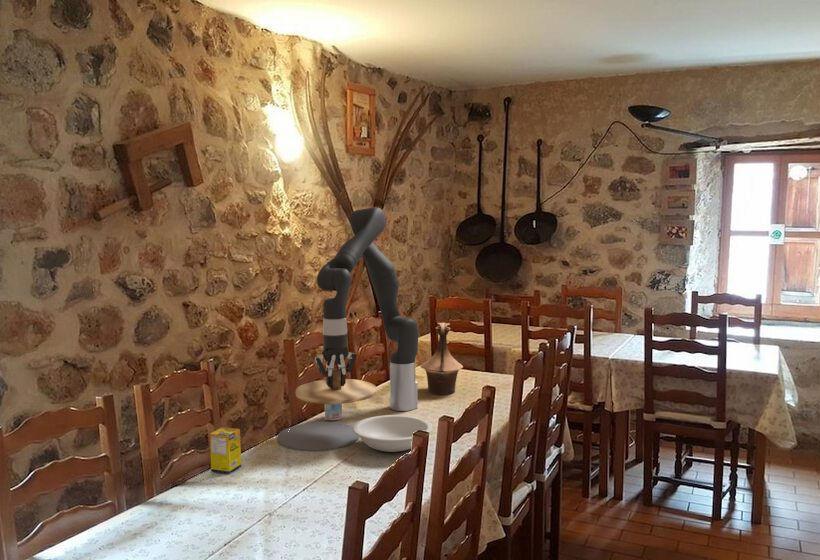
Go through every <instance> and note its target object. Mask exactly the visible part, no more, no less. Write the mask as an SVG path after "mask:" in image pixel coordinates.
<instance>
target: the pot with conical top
mask: <svg viewBox="0 0 820 560" xmlns="http://www.w3.org/2000/svg"><path fill="white" fill-rule="evenodd" d="M437 325H438V326H436V327H435V330H436V333H437V334H438V336H439V337H438V345H437V349H436V351H435V353H434V354H433V355H432V356H431V357H430V358H429V359H428V360H426V361H425V362H423V363H421V365H420V368H422V369H423V370H424V371H425V373H426V380H427V392H428V393H430V394H433V395H434V394H435V395H451V394H454V393H455V392H456V383H457V378H458V374H459V371H460V370H461V369H463V368H464V366H463V365H462V364H461V363H460V362H458V360H457V359H455V358H454V357H453V356H452V354H451V352H450V351H449V347H448V341H447V340H448V339H447V336H448V334H449V332H450V330H451V327H449V326H450V325H451V323H450V322H437Z"/></svg>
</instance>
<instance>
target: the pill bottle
mask: <svg viewBox="0 0 820 560" xmlns="http://www.w3.org/2000/svg"><path fill="white" fill-rule="evenodd" d="M324 418H325V420H327V421H338V420H341V419H342V418H343V404H324Z"/></svg>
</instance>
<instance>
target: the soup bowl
mask: <svg viewBox="0 0 820 560" xmlns="http://www.w3.org/2000/svg"><path fill="white" fill-rule="evenodd" d="M352 427H353V431H354V433H356V434H357V435H359V436H360V437H359V439H361V440H362V441H363V443H364V444H366V445H367V446H368V447H369V448H372V449H373V450H377V451H381V452H387V453H388V452H389V453H396V452H397V453H398V452H403V451H407V450H411V449H412V448H411V441H412V434H413V432H415V431H417V430H425V431H427V432H429V434H431V432H432V430H433V425H432V423H430V421H427V420H426V419H423V418H420V417H416V416H411V415H404V414H403V415H402V414H400V415H399V414H389V415H388V414H385V415H376V416H371V417H366V418H364V419H362V420H358V421H357V422H355V423H354V425H353V426H352Z"/></svg>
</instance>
